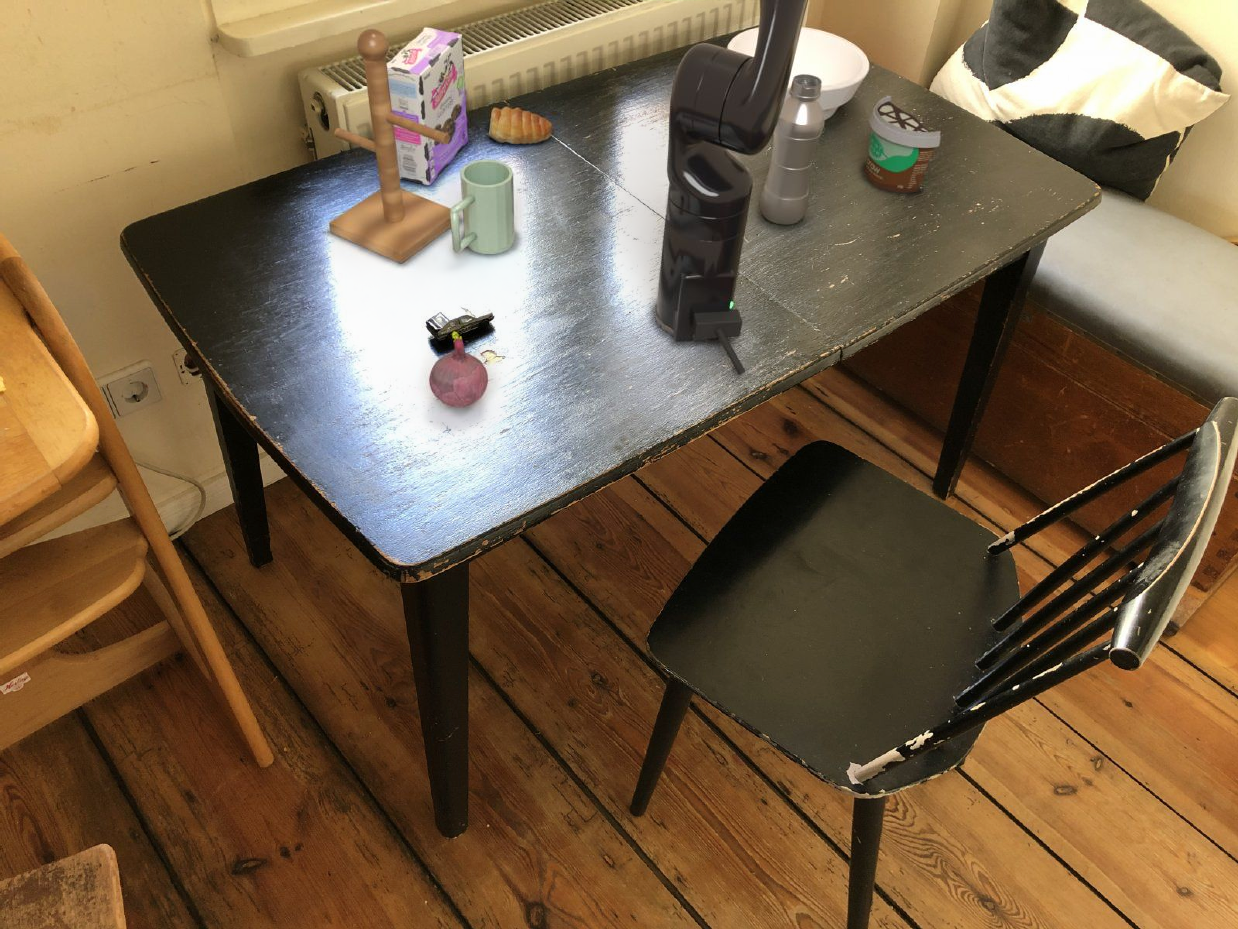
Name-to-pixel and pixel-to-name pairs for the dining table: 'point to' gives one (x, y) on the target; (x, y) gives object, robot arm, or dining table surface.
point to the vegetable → (458, 377)
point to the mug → (485, 208)
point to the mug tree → (389, 173)
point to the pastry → (518, 126)
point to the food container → (898, 148)
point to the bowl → (819, 64)
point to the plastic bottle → (793, 152)
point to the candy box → (429, 102)
